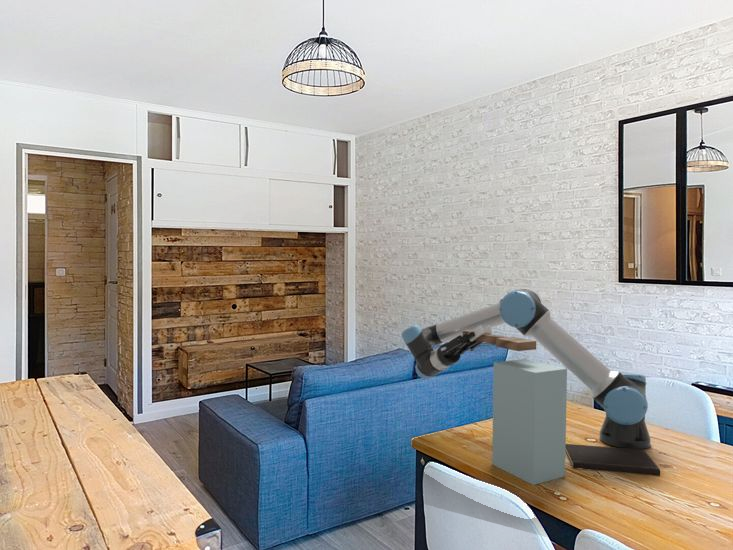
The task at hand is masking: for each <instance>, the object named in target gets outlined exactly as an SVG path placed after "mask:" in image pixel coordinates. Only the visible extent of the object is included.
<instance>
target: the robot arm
mask: <svg viewBox="0 0 733 550" xmlns="http://www.w3.org/2000/svg"><path fill="white" fill-rule="evenodd" d="M503 324H507V325H508V326H510V327H512V328H515V329H516V330H517V331H518V332H519V333H521V335H523V336H524V337H532V338H533V339H534V341H536V342H537V343H539V344H540V346H542V347H543V348H544V349H545V350H546V351H548V352H549V354H551V355H552V356H553V357H554V358H555V359H556V360H557V361H558V362H559V363H561V365H562V366H564V368H566V369H567V371H569V372H571V374H572V375H574V376H575V377H576V378H577V379H578V380H579V381H580V382H581V383H583V384H584V385H585V386H586V387H587V388H588V389H589V390H590V392H591V398H592V399H593V400H594V401H595V402H596V403H597V404H599V405H600V406H601V408H603V410H604V412H605V417H604V420H603V423H602V425H601V428H600V429H599V430H600V431H599V440H600V441H601V442H603V443H604V444H606V445H610V446H611V447H614V448H627V449H640V450H644V449H645V450H646V449H648V448H650V447H651V437H650V433H649V430H648V426H647V423H646V418H645V417H646V414H647V411H648V408H649V407H648V405H649V403H648V400H647V396H646V393H647V392H646V389H647V387H646V385H647V381H646V376H645V375H643V374H641V373H636V372H635V373H633V372H625V371H620V370H611V369H609V367H607V366H606V365H605V364H604V363H603V362H601V361H600V359H598V358H597V357H596V356H595V355H594V354H593V353H592V352H590V351H589V350H588V349H587V348H586V347H584V345H583V344H581V343H580V342H579V341H578V340H576V339H575V338H574V337H573V336H572V335H571V334H570V333H569V332H567V330H565V329H564V328H563V327H562V326H561V325H559V324H558V323H557V322H556V321H555V320H553V318H552V317H551V310H549V309H548V308H547V307H546V306H545V305H544V304H543V303H542V300H541V298H540V297H539V295H538V294H537V293H536V292H534V291H533V290H531V289H526V288H525V289H524V288H523V289H522V288H521V289H516V290H511V291H510V292H508V293H507V294H505V295H504V296H503V297H502V298H501V299H499V301H498V302H497V303H495V304H491V305H489V306H486V307H483V308H480V309H477V310H474V311H472V312H469V313H465V314H461V315H460V316H457V317H454V318H451V319H448V320H445V321H442V322H440V323H437V324H433V325H431V326H427V327H425V328H421V327H420V326H419V325H418V324H416V323H415V324H413V325H410V326H409V327H408V328H406V329H404V330H403V331H402V332H401V337H402V339H403V341H404V344H405V345H406V347H407V348H408V350H409V351H410V353H411V354H412V356H413V357H414V359H415V361H416V364H415V366H414V367H415V368H414V369H415V372H416V374H417V376H418V377H420V378H421V379H424V380H428V379H432V378H433V377H435V376H437V375H439V374H440V373H442V372H443V371H445V372H446V370H447V368H450V367H451V366H453V365H454V364H455V363H457V362H459V361H460V359H461V355H463V354H464V353H466V352H467V351H468V350H469V351H470V352H473V351H474V350H475V349H476V348H478V347H479V346H480V345H482V344H483V343H484V342H480V341H475V339H476V338H478V337H479V336H481V335H483V334H484V333H487V334H493V329H492V328H494V327H497V326H500V325H501V326H502V325H503ZM464 330H471V332H469V333H468V334H465V335H463V331H464ZM441 344H442V345H441ZM438 345H440V346H438ZM436 346H438V347H437V348H436V349H434V348H433V347H436Z"/></svg>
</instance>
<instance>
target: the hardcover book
mask: <svg viewBox="0 0 733 550" xmlns="http://www.w3.org/2000/svg"><path fill="white" fill-rule="evenodd" d="M565 453H566V454H567V456H568V459H569V461H570V462H571V465H572V469H577V468H582V469H581V470H588V469H590V470H591V471H601V472H615V473H624V474H625V473H626V474H635V475H636V474H637V475H647V476H648V475H649V476H659V477H660V476H661V469H660V468H659V466H657V464H656V463H655V462H654V461H653V459H652V458H651V457H650V456H649V455H648V453H647V452H646V451H645V450H644V449H627V448H620V447H615V446H599V445H598V446H597V445H589V444H588V445H586V444H574V443H573V444H572V443H566V450H565Z"/></svg>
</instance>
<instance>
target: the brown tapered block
mask: <svg viewBox="0 0 733 550" xmlns="http://www.w3.org/2000/svg"><path fill="white" fill-rule="evenodd" d="M469 332H471V330H464V331H463V335H465V334H468V333H469ZM475 341H480V342H483V343H485V344H489V345H495V347H496V348H502V349H507V350H512V351H516V352H523V351H533V350H534V351H536V350H537V341H536V340H532V339H526V338H521V337H516V336H510V337H508V336H503V335H497V334H493V333H492V334H487V333H484V334H483V335H481V336H479V337H478V338H476V339H475Z"/></svg>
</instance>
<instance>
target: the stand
mask: <svg viewBox="0 0 733 550" xmlns="http://www.w3.org/2000/svg"><path fill="white" fill-rule="evenodd" d="M492 384H493V385H492V386H493V387H492V388H493V389H492V391H493V392H492V393H493V394H492V395H493V397H492V398H493V399H492V449H491V450H492V454H491V456H492V457H491V459H492V460H491V463H492V466H494V467H496V468H499V469H500V470H502V471H504V472H507V473H508V474H511V475H512V476H515V477H517V478H519V479H520V480H523V481H525V482H526V483H529V484H531V485H533V486H534V485H535V486H536V485H539V484H543V483H546V482H550V481H554V480H557V479H561V478H565V477H566V444H567V443H566V441H567V439H566V437H567V391H568V390H567V388H568V385H567V384H568V369H567V368H566V367H561V366H556V365H552V364H549V363H544V362H543V363H542V362H538V361H535V360H529V359H525V358H523V359H520V358H519V359H512V360H504V361H503V360H502V361H495V362H494V361H493V383H492Z"/></svg>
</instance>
